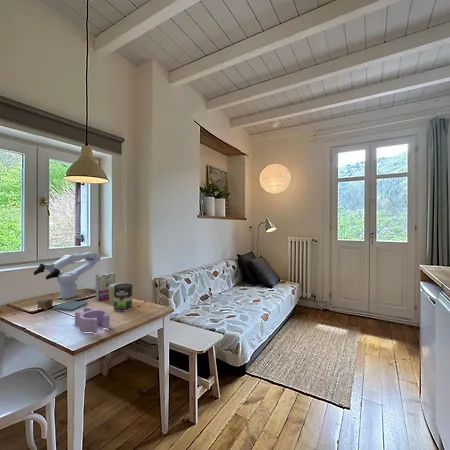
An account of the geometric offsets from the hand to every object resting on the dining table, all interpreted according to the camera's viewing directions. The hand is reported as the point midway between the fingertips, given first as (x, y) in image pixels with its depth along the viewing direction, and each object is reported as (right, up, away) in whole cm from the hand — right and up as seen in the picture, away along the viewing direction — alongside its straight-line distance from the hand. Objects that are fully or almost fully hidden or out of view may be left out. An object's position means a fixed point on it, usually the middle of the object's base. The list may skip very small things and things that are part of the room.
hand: (40, 275), depth 148 cm
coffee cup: (+39, -20, +12) cm, 46 cm away
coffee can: (+47, -21, +4) cm, 51 cm away
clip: (+41, -21, -22) cm, 51 cm away
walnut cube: (+3, -19, +1) cm, 19 cm away
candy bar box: (+28, -20, +21) cm, 40 cm away
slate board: (+15, -19, +4) cm, 25 cm away
